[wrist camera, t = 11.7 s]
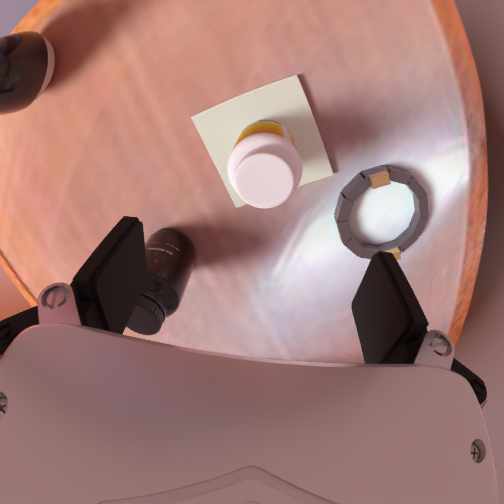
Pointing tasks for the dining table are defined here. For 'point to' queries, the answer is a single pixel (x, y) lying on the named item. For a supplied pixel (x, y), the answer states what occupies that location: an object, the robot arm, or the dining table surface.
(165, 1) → the dining table surface
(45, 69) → the pump dispenser
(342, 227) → the collar
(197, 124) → the coaster
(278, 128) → the supplement bottle
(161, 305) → the supplement bottle
